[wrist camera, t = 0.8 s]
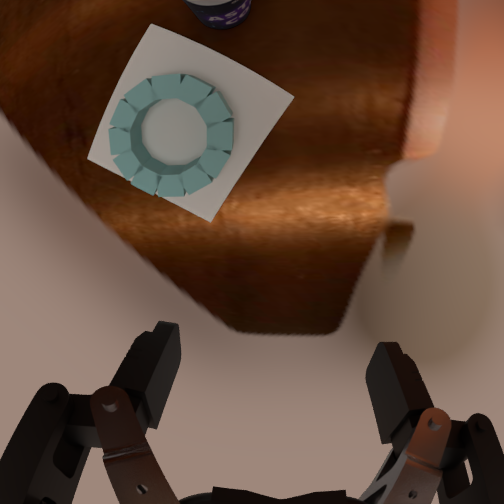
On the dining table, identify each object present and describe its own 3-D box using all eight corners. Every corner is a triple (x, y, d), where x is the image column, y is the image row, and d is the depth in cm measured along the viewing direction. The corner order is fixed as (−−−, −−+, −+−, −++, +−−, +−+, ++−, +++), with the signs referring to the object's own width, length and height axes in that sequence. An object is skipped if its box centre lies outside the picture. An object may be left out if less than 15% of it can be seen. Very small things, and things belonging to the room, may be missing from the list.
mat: (90, 156, 31) (87, 158, 30) (153, 24, 22) (151, 23, 22) (211, 219, 36) (210, 222, 35) (293, 96, 28) (294, 96, 27)
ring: (106, 156, 30) (93, 165, 27) (153, 57, 24) (142, 55, 21) (198, 203, 34) (193, 216, 31) (257, 110, 28) (258, 113, 25)
